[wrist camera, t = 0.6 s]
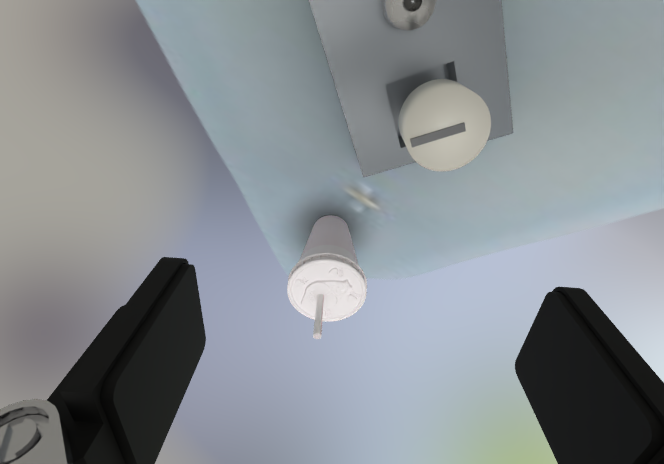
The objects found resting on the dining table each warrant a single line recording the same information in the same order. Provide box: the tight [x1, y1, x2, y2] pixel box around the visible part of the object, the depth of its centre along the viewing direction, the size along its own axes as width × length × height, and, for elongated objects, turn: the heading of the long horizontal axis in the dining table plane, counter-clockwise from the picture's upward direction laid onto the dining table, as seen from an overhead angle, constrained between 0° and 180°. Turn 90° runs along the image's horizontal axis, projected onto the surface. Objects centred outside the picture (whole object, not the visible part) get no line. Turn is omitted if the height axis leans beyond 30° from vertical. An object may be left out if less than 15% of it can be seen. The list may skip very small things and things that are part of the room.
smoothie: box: [287, 215, 367, 339], centre depth 32 cm, size 6×6×14 cm
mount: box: [309, 0, 513, 177], centre depth 26 cm, size 12×22×4 cm, turn 19°
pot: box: [382, 0, 436, 30], centre depth 23 cm, size 3×3×4 cm
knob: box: [399, 79, 491, 171], centre depth 24 cm, size 5×5×6 cm
